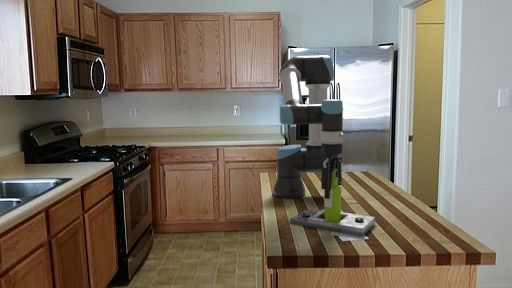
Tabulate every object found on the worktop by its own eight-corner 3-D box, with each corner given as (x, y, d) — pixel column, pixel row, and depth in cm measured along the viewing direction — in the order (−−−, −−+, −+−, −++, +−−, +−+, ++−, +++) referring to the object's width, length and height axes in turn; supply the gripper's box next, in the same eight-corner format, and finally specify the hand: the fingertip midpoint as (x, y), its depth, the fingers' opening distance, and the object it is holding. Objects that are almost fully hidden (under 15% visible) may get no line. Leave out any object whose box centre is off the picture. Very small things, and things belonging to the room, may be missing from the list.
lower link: (289, 222, 153) (289, 217, 152) (305, 213, 164) (305, 208, 163) (341, 232, 141) (341, 226, 141) (355, 221, 152) (355, 215, 152)
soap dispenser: (320, 219, 153) (320, 167, 150) (338, 218, 153) (338, 166, 150) (324, 224, 147) (324, 170, 144) (342, 223, 147) (343, 169, 145)
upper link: (307, 226, 148) (307, 216, 148) (323, 216, 160) (323, 207, 159) (362, 236, 137) (362, 226, 137) (374, 224, 148) (374, 215, 148)
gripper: (331, 146, 136) (331, 213, 140) (351, 139, 152) (350, 199, 155) (311, 145, 141) (311, 209, 144) (332, 138, 156) (332, 197, 159)
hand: (331, 204), depth 149 cm, fingers closed on soap dispenser, 6 cm apart
